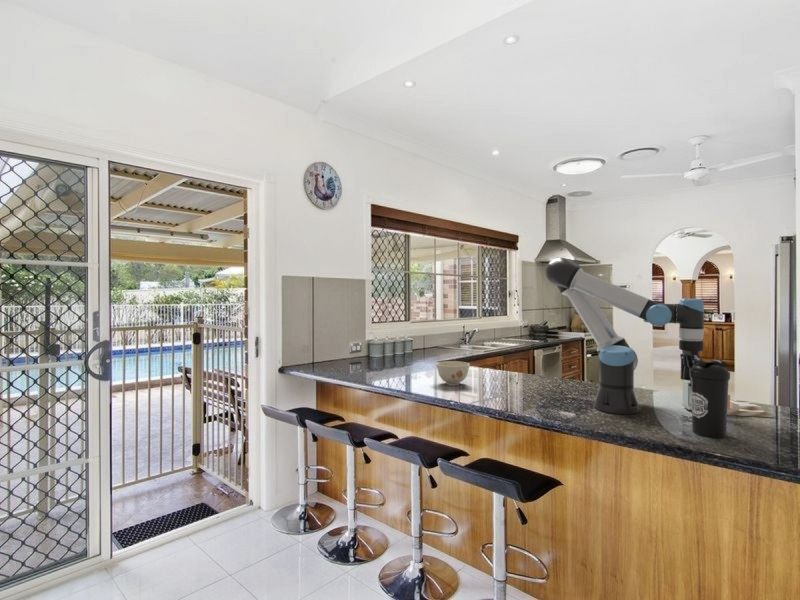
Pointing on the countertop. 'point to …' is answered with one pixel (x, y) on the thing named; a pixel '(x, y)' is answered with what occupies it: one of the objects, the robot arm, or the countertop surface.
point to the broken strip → (745, 404)
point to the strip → (689, 406)
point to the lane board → (749, 411)
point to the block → (728, 402)
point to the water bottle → (709, 398)
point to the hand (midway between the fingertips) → (690, 401)
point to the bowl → (452, 371)
